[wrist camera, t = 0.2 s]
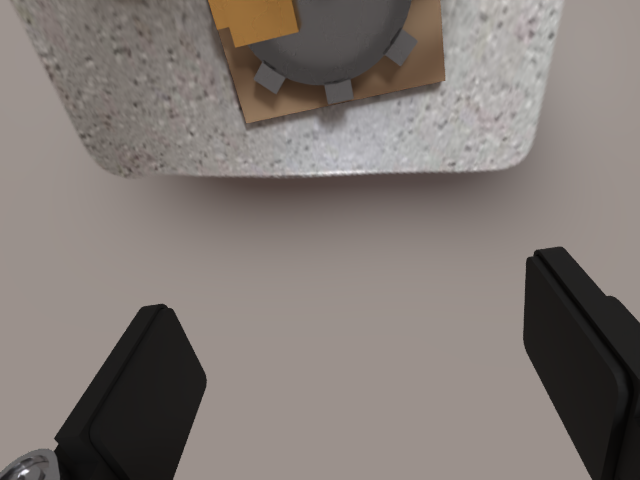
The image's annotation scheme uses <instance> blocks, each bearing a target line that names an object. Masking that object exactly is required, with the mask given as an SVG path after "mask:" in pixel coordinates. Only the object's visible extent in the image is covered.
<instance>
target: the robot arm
mask: <svg viewBox="0 0 640 480" xmlns="http://www.w3.org/2000/svg"><path fill="white" fill-rule="evenodd" d="M523 340H524V346H525V349H526V352H527V354H528V356H529V358H530V360H531V362H532V364H533V366H534V368H535V370H536V372H537V374H538V375H539V377H540V379H541V381H542V383H543V385H544V387H545V389H546V391H547V393H548V395H549V397H550V399H551V401H552V403H553V405H554V406H555V409H556V410H557V413H558V414H559V416H560V418H561V420H562V422H563V424H564V426H565V428H566V430H567V432H568V434H569V436H570V438H571V440H572V442H573V443H574V445H575V448H576V449H577V451H578V453H579V455H580V457H581V459H582V461H583V463H584V465H585V467H586V469H587V471H588V473H589V475H590V477H591V478H592V480H640V323H639V322H638V321H637V319H636V318H635V317H634V316H633V315H632V314H631V313H630V312H629V311H628V310H627V309H626V307H625V306H624V305H623V304H622V303H621V302H620V301H619V300H618V299H616V298H615V297H613V296H606V295H605V294H604V293H603V292H602V291H601V289H600V288H599V287H598V286H597V285H596V284H595V283H594V281H593V280H592V279H591V278H590V277H589V276H588V275H587V274H586V272H585V271H584V270H583V269H582V268H581V267H580V266H579V264H578V263H577V262H576V261H575V260H574V259H573V258H572V257H571V255H570V254H569V253H568V252H567V251H566V250H565V249H564V248H563V247H554V248H546V249H540V250H536V251H535V252H534V255H533V257H528V258H527V261H526V280H525V305H524V331H523ZM206 381H207V379H206V375H205V372H204V370H203V368H202V366H201V364H200V362H199V360H198V358H197V356H196V354H195V352H194V350H193V348H192V346H191V344H190V342H189V340H188V338H187V336H186V334H185V332H184V330H183V328H182V326H181V324H180V322H179V320H178V318H177V316H176V314H175V312H174V311H173V309H171V308H168V307H167V306H166V305H164V304H158V305H150V306H144V307H142V308H141V309H140V310H139V312H138V313H137V314H136V316H135V317H134V319H133V320H132V322H131V323H130V325H129V326H128V328H127V329H126V331H125V332H124V334H123V335H122V337H121V338H120V340H119V341H118V343H117V344H116V346H115V347H114V349H113V350H112V352H111V354H110V355H109V356H108V358H107V359H106V361H105V362H104V364H103V365H102V367H101V368H100V370H99V372H98V373H97V374H96V376H95V377H94V379H93V381H92V382H91V384H90V385H89V387H88V388H87V390H86V391H85V393H84V394H83V396H82V397H81V399H80V400H79V402H78V403H77V405H76V406H75V408H74V409H73V411H72V412H71V414H70V415H69V417H68V418H67V420H66V421H65V423H64V424H63V426H62V427H61V429H60V430H59V432H58V433H57V435H56V436H55V438H54V439H55V440H56V441H57V442H58V446H57V447H56V449H55V450H54V451H52V450H49V449H38V450H34V451H31V452H29V453H27V454H25V455H23V456H21V457H19V458H17V459H16V460H15V461H13V462H12V463H10V464H9V465H8V466H7V467H6V468H5V469H4V470H2V472H0V480H173V477H174V475H175V472H176V469H177V467H178V464H179V461H180V458H181V455H182V453H183V450H184V447H185V444H186V441H187V439H188V435H189V433H190V430H191V428H192V424H193V422H194V419H195V416H196V413H197V411H198V408H199V405H200V402H201V400H202V397H203V394H204V391H205V388H206V383H207V382H206Z"/></svg>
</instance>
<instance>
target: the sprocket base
mask: <svg viewBox="0 0 640 480" xmlns="http://www.w3.org/2000/svg"><path fill="white" fill-rule="evenodd" d="M402 29H403V30H404V31H406V32H407V33H408V34H410V35H411V36H412V37H414V38H415V39H416V40H418V42H417V44H416V45H415V47H414V48H413V50H412V51H411V52H410V54H409V55H408V57H407V58H406V60H405V61H404V63H403V64H402V65H401V66H399V65H398V64H397V63H395V62H394V61H392V60H391V59H390V58H388V57H387V56H386V55H384V56H383V57H382V58H381V59H380V60H379V61H378V62H377V63H376V64H375V65H374V66H372V67H371V68H370V69H369V70H367V71H365V72H364V73H362V74H360V75H359V76H357V77H354V78H352V79H351V84H352V90H353V96H354V99H351V100H347V101H342V102H338V103H333V104H328V101H327V96H326V91H325V86H324V85H309V84H303V83H299V82H296V81H293V80H290V79H288V78H286V79H285V80H284V82H283V84H282V86H281V88H280V89H279V91H278V93H277V94H275V93H273V92H272V91H270V90H269V89H267V88H266V87H264V86H263V85H261V84H260V83H258V82H256V81H255V80H253V79H254V77H255V75H256V73H257V71H258V69H259V67H260V66H261V64H262V61H261V60H260V59H259V58H258V57H257V56H256V55H255V54H254V53H253V51H252V50H251V49H250V48H249V46H248V45H244V46H240V47H236V48H235V45H234V42H233V38H232V35H231V32H230V28H229V27H227V28H223V29H219V30H218V32H219V36H220V39H221V42H222V45H223V49H224V52H225V55H226V58H227V62H228V65H229V68H230V71H231V75H232V78H233V81H234V84H235V88H236V91H237V94H238V97H239V101H240V104H241V107H242V110H243V114H244V117H245V120H246V123H250V122H255V121H260V120H264V119H269V118H274V117H278V116H283V115H288V114H292V113H297V112H302V111H306V110H311V109H316V108H320V107H325V106H329V105H334V104H339V103H343V102H348V101H353V100H357V99H362V98H367V97H371V96H376V95H381V94H385V93H390V92H395V91H399V90H404V89H409V88H413V87H418V86H422V85H427V84H432V83H436V82H441V81H445V67H444V52H443V36H442V21H441V5H440V0H412V1H411V6H410V9H409V12H408V16H407V19H406V21H405V23H404V26H403V28H402Z"/></svg>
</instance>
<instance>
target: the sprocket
mask: <svg viewBox="0 0 640 480" xmlns="http://www.w3.org/2000/svg"><path fill="white" fill-rule="evenodd" d="M411 1H412V0H208V2H209V5H210V8H211V11H212V15H213V18H214V21H215V24H216V27H217V30H219V29H223V28H227V27H229V28H230V32H231V35H232V38H233V42H234V45H235V48H236V47H240V46H244V45H248V46H249V48H250V49H251V50H252V51H253V53H254V54H255V55H256V56H257V57H258V58H259V59H260V60H261V61H262V64H261V66H260V67H259V69H258V71H257V73H256V75H255V77H254V79H253V80H255V81H256V82H258V83H260V84H261V85H263V86H264V87H266V88H267V89H269V90H270V91H272V92H273V93H275V94H277V93H278V91H279V89H280V88H281V86H282V84H283V82H284V80H285V79H286V78H288V79H290V80H293V81H296V82H299V83H303V84H309V85H324V86H325V91H326V96H327V101H328V104H333V103H338V102H342V101H347V100H351V99H354V96H353V90H352V84H351V79H352V78H354V77H357V76H359V75H360V74H362V73H364V72H365V71H367V70H369V69H370V68H371V67H372V66H374V65H375V64H376V63H377V62H378V61H379V60H380V59H381V58H382V57H383V56H384V55H386V56H387V57H388V58H390V59H391V60H392V61H394V62H395V63H397V64H398V65H399V66H401V65H402V64H403V63H404V61H405V60H406V58H407V57H408V55H409V54H410V52H411V51H412V50H413V48H414V47H415V45H416V44H417V42H418V40H416V39H415V38H414V37H412V36H411V35H410V34H408V33H407V32H406V31H404V30H403V29H402V28H403V26H404V23H405V21H406V19H407V16H408V12H409V9H410V6H411Z"/></svg>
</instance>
